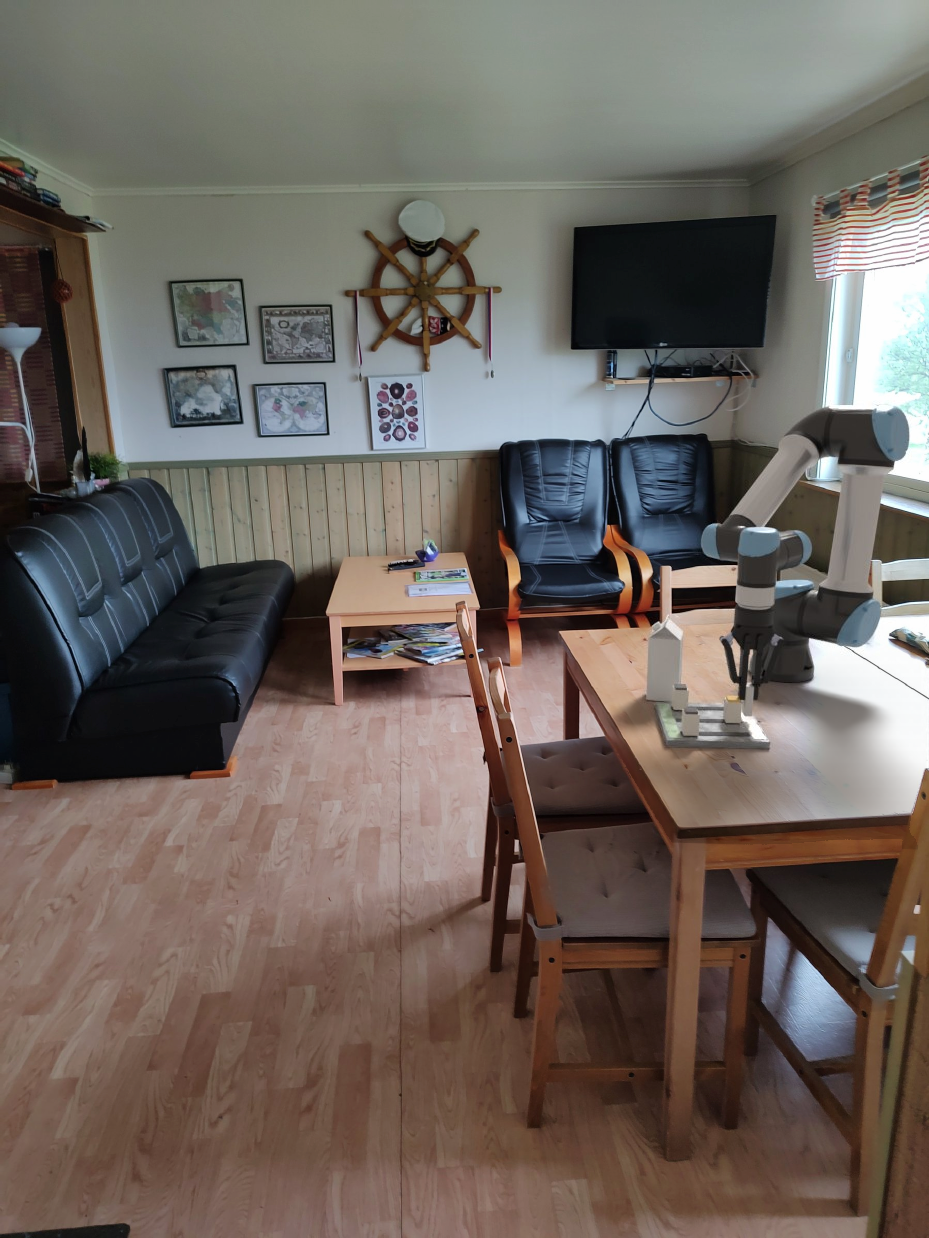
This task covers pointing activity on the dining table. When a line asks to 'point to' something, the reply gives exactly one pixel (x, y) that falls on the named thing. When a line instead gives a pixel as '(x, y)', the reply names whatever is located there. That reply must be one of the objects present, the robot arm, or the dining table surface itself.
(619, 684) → the dining table surface
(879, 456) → the robot arm
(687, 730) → the block
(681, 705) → the block
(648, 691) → the milk carton
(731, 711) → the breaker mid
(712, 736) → the panel
